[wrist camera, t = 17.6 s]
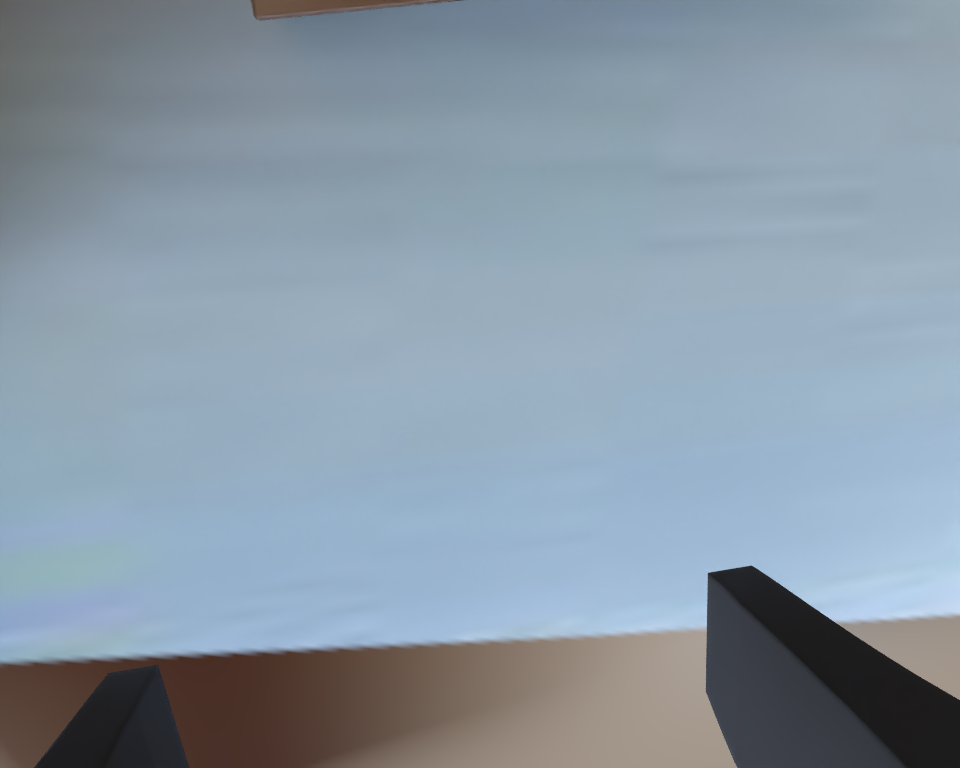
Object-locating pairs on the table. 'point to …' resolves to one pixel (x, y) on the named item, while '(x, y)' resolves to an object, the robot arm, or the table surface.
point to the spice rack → (323, 6)
